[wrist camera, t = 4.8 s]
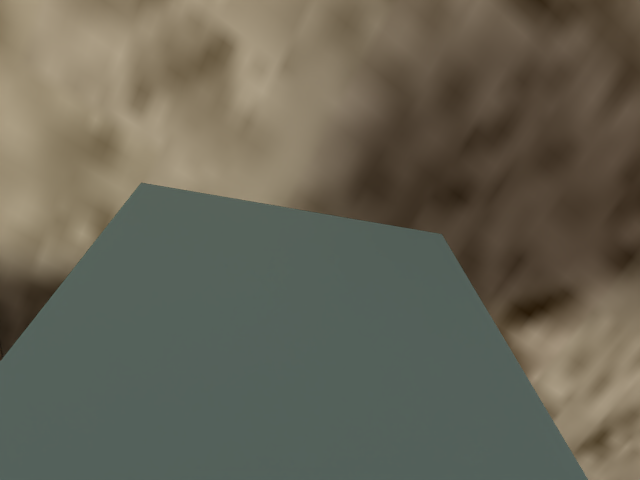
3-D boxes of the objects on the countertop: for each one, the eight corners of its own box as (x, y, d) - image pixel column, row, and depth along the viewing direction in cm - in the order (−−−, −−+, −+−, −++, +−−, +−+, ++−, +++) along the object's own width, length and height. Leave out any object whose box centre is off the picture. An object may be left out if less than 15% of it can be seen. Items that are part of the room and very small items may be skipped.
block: (441, 234, 8) (703, 675, 3) (369, 436, 10) (445, 896, 5) (141, 182, 8) (-216, 633, 2) (131, 410, 10) (-61, 907, 5)
